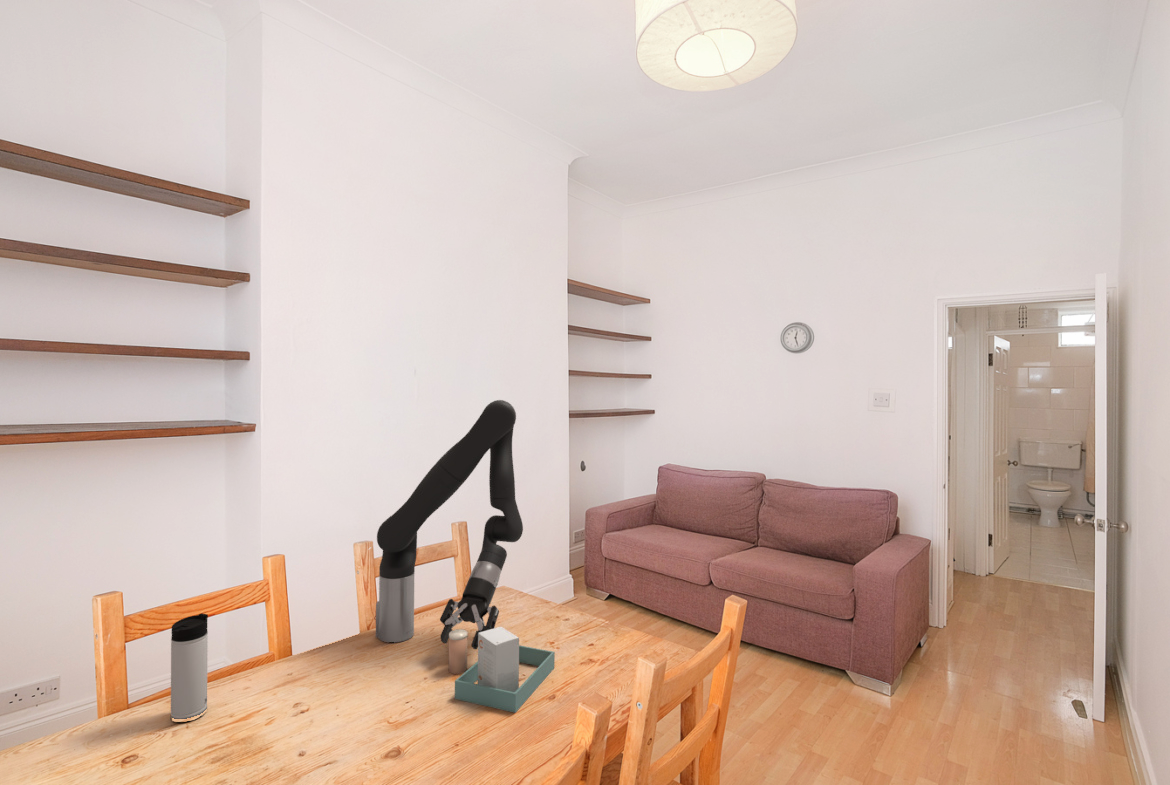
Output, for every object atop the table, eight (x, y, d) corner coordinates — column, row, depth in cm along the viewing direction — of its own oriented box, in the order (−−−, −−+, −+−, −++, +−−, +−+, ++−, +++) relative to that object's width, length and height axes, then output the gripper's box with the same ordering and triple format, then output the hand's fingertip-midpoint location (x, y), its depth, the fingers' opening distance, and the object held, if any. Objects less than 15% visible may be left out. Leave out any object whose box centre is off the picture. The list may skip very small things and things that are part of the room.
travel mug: (215, 709, 122) (216, 615, 122) (185, 726, 116) (185, 627, 116) (194, 703, 124) (195, 611, 124) (163, 720, 118) (163, 623, 118)
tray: (454, 698, 128) (454, 680, 128) (500, 657, 148) (500, 641, 148) (515, 712, 123) (515, 694, 123) (554, 667, 142) (554, 651, 142)
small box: (519, 695, 130) (520, 637, 130) (494, 704, 126) (495, 645, 126) (500, 680, 136) (501, 625, 136) (476, 689, 132) (477, 632, 132)
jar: (445, 672, 140) (445, 635, 139) (455, 664, 144) (455, 628, 144) (460, 675, 138) (461, 638, 138) (470, 667, 142) (470, 630, 142)
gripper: (453, 572, 151) (427, 634, 140) (502, 579, 146) (478, 643, 136) (464, 586, 156) (439, 646, 146) (511, 593, 151) (489, 656, 141)
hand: (458, 645), depth 141 cm, fingers open, 8 cm apart
